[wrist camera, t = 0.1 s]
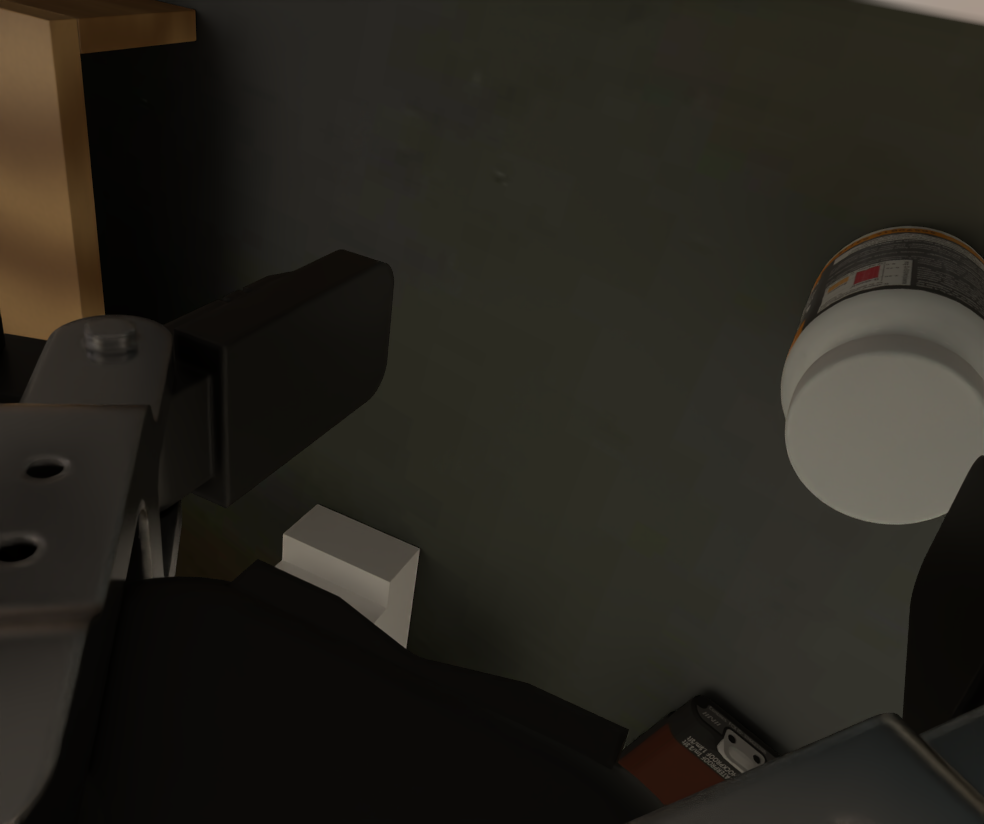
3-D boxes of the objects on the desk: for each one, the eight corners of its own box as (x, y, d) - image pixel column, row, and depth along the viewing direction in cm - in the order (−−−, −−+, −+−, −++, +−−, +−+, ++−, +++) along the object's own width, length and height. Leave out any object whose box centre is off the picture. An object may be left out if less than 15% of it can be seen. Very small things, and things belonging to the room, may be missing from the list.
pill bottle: (782, 266, 30) (720, 379, 22) (960, 189, 27) (964, 289, 19) (851, 409, 31) (817, 565, 23) (1031, 351, 28) (1063, 510, 20)
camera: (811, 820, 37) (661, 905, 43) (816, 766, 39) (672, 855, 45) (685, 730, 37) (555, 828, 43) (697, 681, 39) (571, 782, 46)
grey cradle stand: (436, 758, 50) (222, 1090, 35) (248, 662, 53) (-15, 926, 39) (470, 568, 42) (217, 888, 28) (250, 472, 46) (-73, 710, 32)
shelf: (14, -34, 39) (-152, -32, 33) (196, 9, 36) (49, 20, 30) (60, 333, 48) (-63, 386, 42) (208, 392, 45) (97, 457, 39)
